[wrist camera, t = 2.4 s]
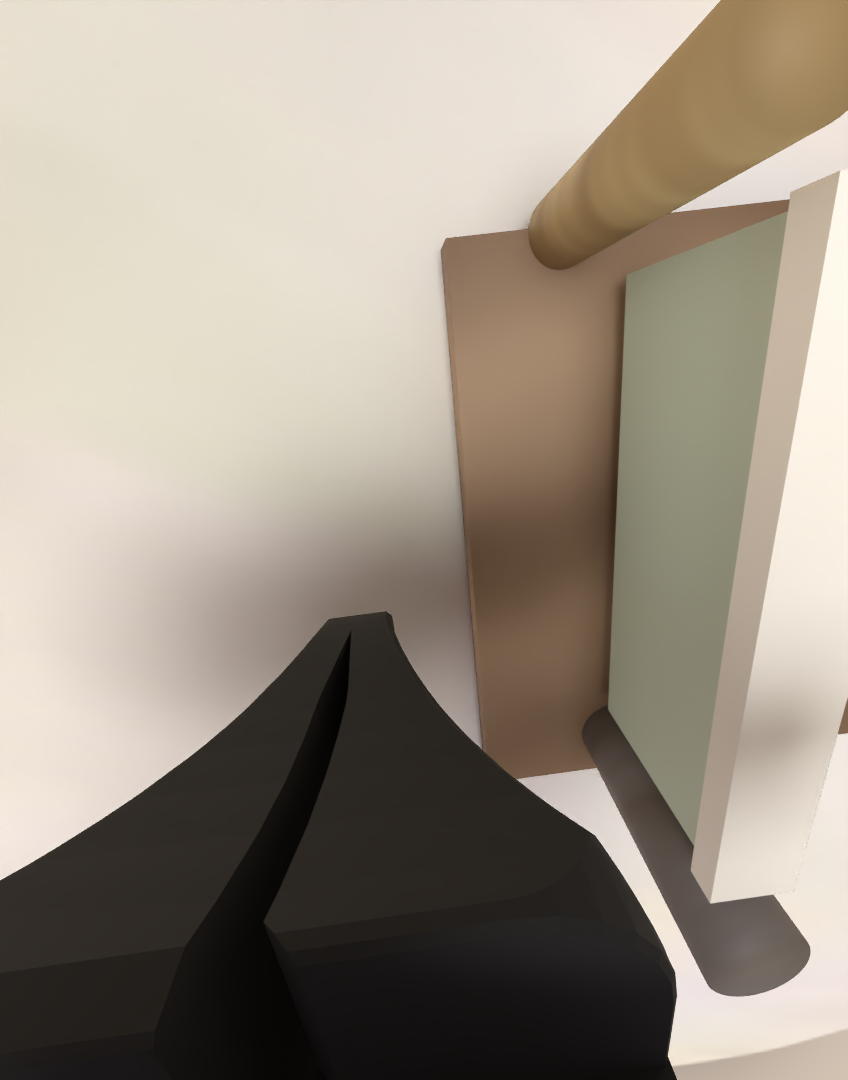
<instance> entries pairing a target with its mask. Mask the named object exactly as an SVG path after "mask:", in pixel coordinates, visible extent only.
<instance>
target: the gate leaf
mask: <svg viewBox="0 0 848 1080" xmlns="http://www.w3.org/2000/svg"><path fill="white" fill-rule="evenodd" d="M847 698H848V170H842V171H838V172H836V173H834V174H832V175H829V176H827V177H825V178H822V179H820V180H818V181H816V182H813V183H811V184H809V185H807V186H804V187H802V188H800V189H797V190H795V191H793V192H791V194H790V201H789V208H788V211H787V212H784V213H782V214H779V215H777V216H774V217H772V218H769V219H767V220H764V221H761V222H759V223H756V224H754V225H751V226H749V227H746V228H744V229H741V230H739V231H736V232H734V233H731V234H729V235H726V236H723V237H721V238H718V239H716V240H713V241H711V242H708V243H706V244H703V245H701V246H698V247H696V248H693V249H690V250H688V251H685V252H683V253H680V254H678V255H675V256H673V257H670V258H668V259H665V260H663V261H660V262H658V263H655V264H652V265H650V266H647V267H645V268H642V269H640V270H637V271H635V272H632V273H630V274H627V276H626V300H625V323H624V346H623V370H622V393H621V416H620V440H619V463H618V487H617V510H616V533H615V557H614V580H613V603H612V627H611V650H610V673H609V697H608V710H609V712H610V713H611V715H612V716H613V718H614V720H615V721H616V723H617V724H618V726H619V728H620V729H621V731H622V732H623V734H624V736H625V737H626V739H627V740H628V742H629V743H630V745H631V747H632V748H633V750H634V751H635V753H636V755H637V756H638V758H639V759H640V761H641V763H642V764H643V766H644V767H645V769H646V770H647V772H648V774H649V775H650V777H651V778H652V780H653V782H654V783H655V785H656V786H657V788H658V790H659V791H660V793H661V794H662V796H663V797H664V799H665V801H666V802H667V804H668V805H669V807H670V809H671V810H672V812H673V813H674V815H675V817H676V818H677V820H678V821H679V823H680V824H681V826H682V828H683V829H684V831H685V832H686V834H687V836H688V837H689V839H690V840H691V842H692V844H693V845H694V851H693V857H692V864H691V872H692V874H693V875H694V877H695V879H696V880H697V882H698V884H699V886H700V887H701V889H702V891H703V892H704V894H705V896H706V897H707V899H708V901H709V902H710V904H711V903H718V902H725V901H732V900H739V899H745V898H752V897H759V896H766V895H773V894H780V893H787V892H794V890H795V886H796V883H797V879H798V876H799V872H800V868H801V865H802V861H803V858H804V854H805V850H806V847H807V843H808V839H809V836H810V832H811V829H812V825H813V821H814V818H815V814H816V810H817V807H818V803H819V800H820V796H821V792H822V789H823V785H824V781H825V778H826V774H827V771H828V767H829V763H830V760H831V756H832V752H833V749H834V745H835V742H836V738H837V734H838V731H839V727H840V723H841V720H842V716H843V713H844V709H845V705H846V702H847Z"/></svg>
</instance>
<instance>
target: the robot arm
mask: <svg viewBox="0 0 848 1080" xmlns="http://www.w3.org/2000/svg"><path fill="white" fill-rule="evenodd" d="M676 998H677V990H676V977H675V971H674V969H673V967H672V965H671V963H670V961H669V959H668V956H667V954H666V951H665V949H664V947H663V945H662V943H661V941H660V939H659V937H658V935H657V933H656V931H655V929H654V927H653V925H652V924H651V922H650V920H649V918H648V917H647V915H646V913H645V912H644V910H643V908H642V906H641V905H640V903H639V901H638V900H637V898H636V896H635V895H634V893H633V891H632V890H631V888H630V887H629V885H628V883H627V882H626V880H625V879H624V877H623V875H622V874H621V872H620V871H619V869H618V868H617V866H616V865H615V863H614V862H613V861H612V859H611V858H610V856H609V855H608V853H607V852H606V850H605V849H604V847H603V846H602V845H601V843H600V842H599V840H598V839H597V838H596V836H595V835H593V834H592V833H590V832H589V831H587V830H586V829H584V828H583V827H581V826H580V825H578V824H577V823H575V822H574V821H572V820H571V819H569V818H568V817H566V816H565V815H563V814H562V813H560V812H559V811H557V810H556V809H555V808H553V807H552V806H550V805H549V804H548V803H546V802H545V801H544V800H542V799H541V798H539V797H538V796H537V795H535V794H534V793H533V792H531V791H530V790H529V789H528V788H526V787H525V786H524V785H523V784H521V783H520V782H519V781H518V780H516V779H515V778H514V777H512V776H511V775H510V774H509V773H507V772H506V771H505V770H504V769H503V768H502V767H501V766H499V765H498V764H497V763H496V762H495V761H494V760H493V759H492V758H491V757H490V756H488V755H487V754H486V753H485V752H484V751H483V750H482V749H481V748H480V747H479V746H477V745H476V744H475V743H474V742H473V741H472V740H471V739H470V738H469V737H468V736H467V735H466V734H465V733H464V732H463V731H462V730H461V729H460V728H459V727H458V726H457V725H456V724H455V723H454V721H453V720H452V719H451V718H450V717H449V716H448V715H447V714H446V712H445V711H444V710H443V709H442V708H441V707H440V705H439V704H438V703H437V702H436V700H435V699H434V698H433V697H432V695H431V694H430V693H429V691H428V690H427V688H426V687H425V686H424V684H423V683H422V681H421V680H420V678H419V677H418V676H417V674H416V672H415V671H414V669H413V668H412V666H411V664H410V662H409V661H408V659H407V657H406V655H405V653H404V652H403V650H402V648H401V646H400V644H399V642H398V639H397V637H396V634H395V632H394V625H393V619H392V615H390V614H389V613H387V612H379V613H371V614H364V615H356V616H348V617H341V618H333V619H329V620H328V621H327V622H326V623H325V624H324V625H323V627H322V628H321V629H320V630H319V631H318V632H317V634H316V635H315V636H314V637H313V638H312V640H311V641H310V642H309V643H308V644H307V645H306V647H305V648H304V649H303V650H302V651H301V652H300V653H299V655H298V656H297V657H296V658H295V659H294V660H293V661H292V662H291V664H290V665H289V666H288V667H287V668H286V669H285V670H284V671H283V672H282V674H281V675H280V676H279V677H278V678H277V679H276V680H275V681H274V682H273V683H272V684H271V685H270V686H269V687H268V688H267V689H266V690H265V691H264V692H263V693H262V694H261V695H260V696H259V697H258V698H257V699H256V700H255V701H254V702H253V703H252V704H251V705H250V706H249V707H248V708H247V709H246V710H245V711H244V712H242V713H241V714H240V715H239V716H238V717H237V718H236V719H235V720H234V721H233V722H231V723H230V724H229V725H228V726H227V727H226V728H225V729H223V730H222V731H221V732H220V733H219V734H217V735H216V736H215V737H214V738H213V739H211V740H210V741H209V742H208V743H207V744H206V745H204V746H203V747H202V748H201V749H199V750H198V751H197V752H196V753H194V754H193V755H192V756H190V757H189V758H188V759H186V760H185V761H184V762H182V763H181V764H180V765H178V766H177V767H176V768H174V769H173V770H171V771H170V772H169V773H167V774H166V775H165V776H163V777H162V778H161V779H159V780H158V781H157V782H155V783H154V784H152V785H151V786H150V787H148V788H147V789H146V790H144V791H143V792H142V793H140V794H139V795H137V796H136V797H134V798H133V799H132V800H130V801H129V802H127V803H126V804H124V805H123V806H121V807H120V808H118V809H117V810H115V811H114V812H112V813H111V814H109V815H108V816H106V817H105V818H103V819H102V820H100V821H98V822H97V823H95V824H94V825H92V826H91V827H89V828H87V829H86V830H84V831H83V832H81V833H79V834H78V835H76V836H75V837H73V838H71V839H70V840H68V841H67V842H65V843H64V844H62V845H60V846H59V847H57V848H55V849H54V850H52V851H50V852H49V853H47V854H45V855H44V856H42V857H40V858H39V859H37V860H35V861H34V862H32V863H30V864H29V865H27V866H25V867H23V868H22V869H20V870H18V871H16V872H15V873H13V874H11V875H9V876H7V877H6V878H4V879H2V880H0V1080H677V1079H676V1076H675V1074H674V1071H673V1068H672V1066H671V1063H670V1061H669V1058H668V1051H669V1044H670V1038H671V1031H672V1024H673V1018H674V1011H675V1005H676Z"/></svg>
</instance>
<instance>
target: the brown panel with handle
mask: <svg viewBox="0 0 848 1080" xmlns="http://www.w3.org/2000/svg"><path fill="white" fill-rule="evenodd" d="M847 110H848V0H721V1H720V2H719V3H718V4H717V5H716V6H715V8H714V9H713V10H712V11H711V12H710V13H709V14H708V15H707V16H706V18H705V19H704V20H703V21H702V22H701V23H700V24H699V25H698V26H697V28H696V29H695V30H694V31H693V32H692V33H691V34H690V35H689V37H688V38H687V39H686V40H685V41H684V42H683V43H682V44H681V45H680V47H679V48H678V49H677V50H676V51H675V52H674V53H673V54H672V56H671V57H670V58H669V59H668V60H667V61H666V62H665V63H664V64H663V66H662V67H661V68H660V69H659V70H658V71H657V72H656V73H655V74H654V76H653V77H652V78H651V79H650V80H649V81H648V82H647V83H646V85H645V86H644V87H643V88H642V89H641V90H640V91H639V92H638V93H637V95H636V96H635V97H634V98H633V99H632V100H631V101H630V102H629V104H628V105H627V106H626V107H625V108H624V109H623V110H622V111H621V112H620V114H619V115H618V116H617V117H616V118H615V119H614V120H613V121H612V122H611V124H610V125H609V126H608V127H607V128H606V129H605V130H604V131H603V133H602V134H601V135H600V136H599V137H598V138H597V139H596V140H595V141H594V143H593V144H592V145H591V146H590V147H589V148H588V149H587V150H586V152H585V153H584V154H583V155H582V156H581V157H580V158H579V159H578V160H577V162H576V163H575V164H574V165H573V166H572V167H571V168H570V169H569V171H568V172H567V173H566V174H565V175H564V176H563V177H562V178H561V179H560V181H559V182H558V183H557V184H556V185H555V186H554V187H553V188H552V189H551V191H550V192H549V193H548V194H547V195H546V196H545V197H544V198H543V200H542V201H541V202H540V203H539V204H538V206H537V207H536V209H535V210H534V212H533V214H532V217H531V220H530V224H529V229H525V230H516V231H507V232H498V233H489V234H480V235H472V236H463V237H454V238H446V239H445V242H444V244H443V246H442V249H441V257H442V269H443V281H444V293H445V305H446V317H447V329H448V341H449V352H450V364H451V376H452V388H453V400H454V412H455V424H456V436H457V448H458V460H459V472H460V484H461V495H462V507H463V519H464V531H465V543H466V555H467V567H468V579H469V591H470V603H471V615H472V626H473V638H474V650H475V662H476V674H477V686H478V698H479V710H480V722H481V734H482V746H483V751H484V752H485V753H486V754H487V755H488V756H490V757H491V758H492V759H493V760H494V761H495V762H496V763H497V764H498V765H499V766H501V767H502V768H503V769H504V770H505V771H506V772H507V773H509V774H510V775H511V776H512V777H514V778H515V779H519V778H526V777H534V776H541V775H548V774H555V773H563V772H570V771H577V770H584V769H591V768H597V769H598V771H599V773H600V775H601V777H602V779H603V781H604V782H605V784H606V786H607V788H608V790H609V792H610V794H611V796H612V798H613V800H614V802H615V804H616V806H617V808H618V810H619V812H620V814H621V816H622V818H623V820H624V822H625V824H626V826H627V828H628V830H629V831H630V833H631V835H632V837H633V839H634V841H635V843H636V845H637V847H638V849H639V851H640V853H641V855H642V857H643V859H644V861H645V863H646V865H647V867H648V869H649V871H650V873H651V875H652V877H653V879H654V880H655V882H656V884H657V886H658V888H659V890H660V892H661V894H662V896H663V898H664V900H665V902H666V904H667V906H668V908H669V910H670V912H671V914H672V916H673V918H674V920H675V922H676V924H677V926H678V928H679V929H680V931H681V933H682V935H683V937H684V939H685V941H686V943H687V945H688V947H689V949H690V951H691V953H692V955H693V957H694V959H695V961H696V963H697V965H698V967H699V969H700V971H701V973H702V975H703V977H704V978H705V980H706V982H707V984H708V986H709V987H710V988H711V989H712V990H714V991H715V992H717V993H720V994H723V995H727V996H750V995H755V994H759V993H763V992H766V991H769V990H772V989H774V988H777V987H779V986H781V985H783V984H784V983H786V982H788V981H789V980H791V979H792V978H794V977H795V976H796V975H797V974H798V973H799V972H800V971H801V970H802V969H803V968H804V967H805V965H806V964H807V962H808V960H809V957H810V946H809V944H808V942H807V941H806V939H805V938H804V937H803V935H802V934H801V932H800V931H799V930H798V928H797V927H796V926H795V924H794V923H793V921H792V920H791V919H790V917H789V916H788V914H787V913H786V912H785V910H784V909H783V908H782V906H781V905H780V903H779V902H778V901H777V899H776V898H775V896H774V895H766V896H759V897H752V898H745V899H739V900H732V901H725V902H718V903H711V904H710V902H709V901H708V899H707V897H706V896H705V894H704V892H703V891H702V889H701V887H700V886H699V884H698V882H697V880H696V879H695V877H694V875H693V874H692V872H691V864H692V857H693V851H694V845H693V844H692V842H691V840H690V839H689V837H688V836H687V834H686V832H685V831H684V829H683V828H682V826H681V824H680V823H679V821H678V820H677V818H676V817H675V815H674V813H673V812H672V810H671V809H670V807H669V805H668V804H667V802H666V801H665V799H664V797H663V796H662V794H661V793H660V791H659V790H658V788H657V786H656V785H655V783H654V782H653V780H652V778H651V777H650V775H649V774H648V772H647V770H646V769H645V767H644V766H643V764H642V763H641V761H640V759H639V758H638V756H637V755H636V753H635V751H634V750H633V748H632V747H631V745H630V743H629V742H628V740H627V739H626V737H625V736H624V734H623V732H622V731H621V729H620V728H619V726H618V724H617V723H616V721H615V720H614V718H613V716H612V715H611V713H610V712H609V710H608V697H609V673H610V650H611V627H612V603H613V580H614V557H615V533H616V510H617V487H618V463H619V440H620V416H621V393H622V370H623V346H624V323H625V300H626V276H627V274H630V273H632V272H635V271H637V270H640V269H642V268H645V267H647V266H650V265H652V264H655V263H658V262H660V261H663V260H665V259H668V258H670V257H673V256H675V255H678V254H680V253H683V252H685V251H688V250H690V249H693V248H696V247H698V246H701V245H703V244H706V243H708V242H711V241H713V240H716V239H718V238H721V237H723V236H726V235H729V234H731V233H734V232H736V231H739V230H741V229H744V228H746V227H749V226H751V225H754V224H756V223H759V222H761V221H764V220H767V219H769V218H772V217H774V216H777V215H779V214H782V213H784V212H787V211H788V208H789V201H790V200H781V201H772V202H763V203H754V204H745V205H737V206H728V207H719V208H710V209H701V210H692V211H684V212H675V213H670V212H672V211H674V210H675V209H677V208H679V207H681V206H683V205H684V204H686V203H688V202H690V201H692V200H693V199H695V198H697V197H699V196H701V195H702V194H704V193H706V192H708V191H710V190H711V189H713V188H715V187H717V186H719V185H720V184H722V183H724V182H726V181H728V180H729V179H731V178H733V177H735V176H737V175H738V174H740V173H742V172H744V171H746V170H747V169H749V168H751V167H753V166H755V165H756V164H758V163H760V162H762V161H764V160H765V159H767V158H769V157H771V156H773V155H774V154H776V153H778V152H780V151H781V150H783V149H785V148H787V147H789V146H790V145H792V144H794V143H796V142H798V141H799V140H801V139H803V138H805V137H807V136H808V135H810V134H812V133H814V132H816V131H817V130H819V129H821V128H823V127H825V126H826V125H828V124H830V123H831V122H833V121H834V120H836V119H837V118H839V117H840V116H841V115H842V114H844V113H845V112H846V111H847ZM844 733H848V698H847V702H846V705H845V709H844V713H843V716H842V720H841V723H840V727H839V731H838V734H844Z"/></svg>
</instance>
